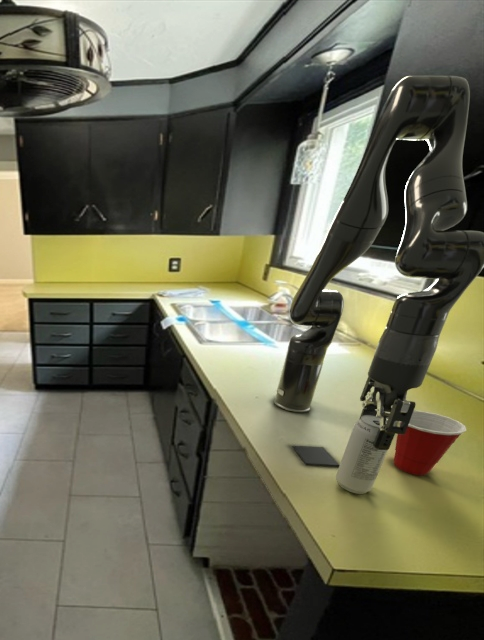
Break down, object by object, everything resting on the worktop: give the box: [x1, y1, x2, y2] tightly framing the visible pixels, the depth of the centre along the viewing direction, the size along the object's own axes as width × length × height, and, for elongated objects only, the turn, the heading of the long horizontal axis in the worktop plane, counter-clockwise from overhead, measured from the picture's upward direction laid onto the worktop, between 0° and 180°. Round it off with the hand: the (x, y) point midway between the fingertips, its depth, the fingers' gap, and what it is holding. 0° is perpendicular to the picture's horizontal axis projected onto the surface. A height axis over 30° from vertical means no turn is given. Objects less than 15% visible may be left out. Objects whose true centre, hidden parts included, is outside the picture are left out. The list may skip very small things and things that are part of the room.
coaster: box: [292, 445, 340, 468], centre depth 83 cm, size 7×7×1 cm
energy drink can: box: [335, 415, 388, 495], centre depth 71 cm, size 6×6×15 cm
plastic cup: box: [393, 410, 467, 476], centre depth 77 cm, size 11×11×12 cm
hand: (371, 436), depth 69 cm, fingers open, 8 cm apart
